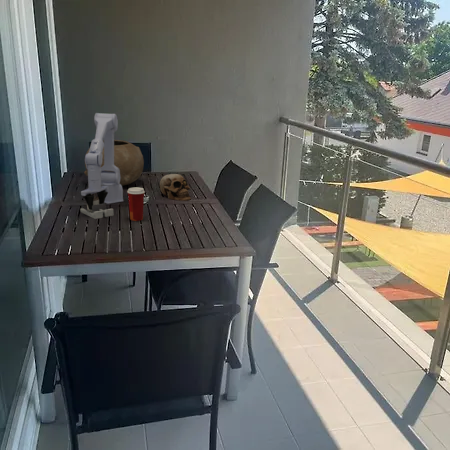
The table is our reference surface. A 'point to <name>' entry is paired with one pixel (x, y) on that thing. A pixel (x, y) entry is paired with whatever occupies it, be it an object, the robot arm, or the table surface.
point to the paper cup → (136, 203)
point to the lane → (98, 213)
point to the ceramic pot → (125, 161)
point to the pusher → (99, 208)
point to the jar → (94, 203)
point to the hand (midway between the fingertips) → (96, 208)
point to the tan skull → (175, 187)
